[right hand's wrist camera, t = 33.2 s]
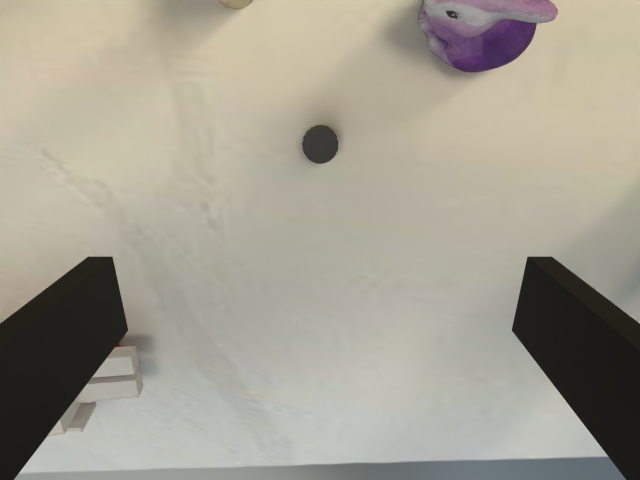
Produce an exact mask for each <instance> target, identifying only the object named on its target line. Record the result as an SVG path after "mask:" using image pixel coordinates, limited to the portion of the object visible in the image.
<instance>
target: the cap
mask: <svg viewBox="0 0 640 480" xmlns="http://www.w3.org/2000/svg"><path fill="white" fill-rule="evenodd" d="M303 139H304V141H303V144H302V145H303V151H304V153H305V155H306V156H307V158H308V159H309V160H311V161H313V162H315V163H326V162H328V161H330V160H331V159H332V158H333V157H334V156H335V155H336V152H337V149H338V140H337V137H336V135H335V133H334V132H333V130H331V129H330V128H329V127H326V126H323V125H319V126H317V125H316V126H315V127H311V129H309V130H308V131H307V133H306V135H305V136H304V138H303Z"/></svg>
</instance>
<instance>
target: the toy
mask: <svg viewBox="0 0 640 480" xmlns="http://www.w3.org/2000/svg"><path fill="white" fill-rule="evenodd" d="M138 365H139V360H138V354H137V349H136V346H125V347H119V344H117V345H116V347H115V348H114V349H113V351H112V352H111V353H110V355H109V356H108V357H107V358H106V360H105V361H104V362H103V364H102V365H101V366H100V368H99V369H98V370H97V372H96V373H95V374H94V375H93V377H92V378H91V379H90V381H89V382H88V383H87V385H86V386H85V387H84V389H83V390H82V391H81V392H80V394H79V395H78V396H77V398H76V399H75V400H74V402H73V403H72V404H71V405H70V407H69V408H68V409H67V411H66V412H65V413H64V415H63V416H62V417H61V419H60V420H59V421H58V422H57V424H56V425H55V426H54V428H53V429H52V430H51V432H50V433H49V434H48V436H49V435H59V434H64V433H65V432H82V431H83V429H84V427H85V425H86V424H87V422H88V420H89V418H90V416H91V415H92V413H93V411H94V409H95V407H96V403H82V402H90V401H102V400H113V399H125V398H136V397H139V396H140V393H141V390H142V388H143V381H142V375H141V370H140V369H137V367H138Z"/></svg>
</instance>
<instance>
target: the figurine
mask: <svg viewBox="0 0 640 480" xmlns="http://www.w3.org/2000/svg"><path fill="white" fill-rule="evenodd" d="M557 14H558V10H557V8H556V7H555V5H554V4H553V3H551V1H549V0H423V6H422V9H421V10H420V12H419V19H418V22H419V25H420V28H421V29H422V30H423V31H424V32H425V33H426V35H427V44H428V46H429V48H430V50H431V51H432V52H433V53H434V54H435V55H437V56H438V57H439V58H441V59H442V60H443V61H444V62H446V63H448V64H449V65H450V66H452V67H454V68H456V69H459V70H461V71H465V72H481V71H486V70H490V69H494V68H498V67H501V66H503V65H505V64H508V63H510V62H512V61H513V60H515V59H516V58H517V57H518V56H519V55H520V54H521V53H522V52H523V51H524V50H525V49H526V48H527V47H528V45H529V44H530V42H531V41H532V39H533V36H534V33H535V29H536V24H537V23H545V22H549V21H552V20H554V19H555V18H556V16H557Z"/></svg>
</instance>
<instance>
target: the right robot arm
mask: <svg viewBox="0 0 640 480" xmlns="http://www.w3.org/2000/svg"><path fill="white" fill-rule="evenodd" d="M127 331H128V327H127V323H126V318H125V313H124V309H123V304H122V299H121V295H120V290H119V285H118V281H117V276H116V271H115V267H114V262H113V257H87V258H86V259H85V260H83V261H82V262H81V263H79V264H78V265H77V266H75V267H74V268H73V269H71V270H70V271H69V272H68V273H66V274H65V275H64V276H62V277H61V278H60V279H58V280H57V281H56V282H54V283H53V284H52V285H50V286H49V287H48V288H47V289H45V290H44V291H43V292H41V293H40V294H39V295H37V296H36V297H35V298H33V299H32V300H31V301H30V302H28V303H27V304H26V305H24V306H23V307H22V308H20V309H19V310H18V311H16V312H15V313H14V314H12V315H11V316H10V317H9V318H7V319H6V320H5V321H3V322H2V323H1V324H0V480H14V479H15V477H16V476H17V475H18V473H19V472H20V471H21V469H22V468H23V467H24V466H25V464H26V463H27V462H28V460H29V459H30V458H31V456H32V455H33V454H34V452H35V451H36V450H37V449H38V447H39V446H40V445H41V443H42V442H43V441H44V439H45V438H46V437H47V436H48V434H49V433H50V432H51V430H52V429H53V428H54V426H55V425H56V424H57V422H58V421H59V420H60V419H61V417H62V416H63V415H64V413H65V412H66V411H67V409H68V408H69V407H70V405H71V404H72V403H73V402H74V400H75V399H76V398H77V396H78V395H79V394H80V392H81V391H82V390H83V389H84V387H85V386H86V385H87V383H88V382H89V381H90V379H91V378H92V377H93V375H94V374H95V373H96V372H97V370H98V369H99V368H100V366H101V365H102V364H103V362H104V361H105V360H106V358H107V357H108V356H109V355H110V353H111V352H112V351H113V349H114V348H115V347H116V345H117V344H118V343H119V342H120V340H121V339H122V338H123V336H124V335H125V334H126V332H127ZM512 331H513V332H514V334H515V335H516V336H517V338H518V339H519V340H520V342H521V343H522V344H523V345H524V347H525V348H526V349H527V351H528V352H529V353H530V355H531V356H532V357H533V358H534V360H535V361H536V362H537V364H538V365H539V366H540V368H541V369H542V370H543V372H544V373H545V374H546V375H547V377H548V378H549V379H550V381H551V382H552V383H553V385H554V386H555V387H556V389H557V390H558V391H559V392H560V394H561V395H562V396H563V398H564V399H565V400H566V402H567V403H568V404H569V405H570V407H571V408H572V409H573V411H574V412H575V413H576V415H577V416H578V417H579V419H580V420H581V421H582V422H583V424H584V425H585V426H586V428H587V429H588V430H589V432H590V433H591V434H592V436H593V437H594V438H595V439H596V441H597V442H598V443H599V445H600V446H601V447H602V449H603V450H604V451H605V452H606V454H607V455H608V456H609V458H610V459H611V460H612V462H613V463H614V464H615V465H616V467H617V468H618V469H619V471H620V472H621V473H622V475H623V476H624V477H625V479H626V480H640V324H639V323H638V322H637V321H635V320H634V319H633V318H631V317H630V316H629V315H627V314H626V313H625V312H624V311H622V310H621V309H620V308H618V307H617V306H616V305H614V304H613V303H612V302H610V301H609V300H608V299H607V298H605V297H604V296H603V295H601V294H600V293H599V292H597V291H596V290H595V289H593V288H592V287H591V286H590V285H588V284H587V283H586V282H584V281H583V280H582V279H580V278H579V277H578V276H576V275H575V274H574V273H572V272H571V271H570V270H569V269H567V268H566V267H565V266H563V265H562V264H561V263H559V262H558V261H557V260H555V259H554V258H553V257H527V262H526V267H525V271H524V276H523V281H522V285H521V290H520V295H519V299H518V304H517V309H516V313H515V318H514V323H513V327H512Z"/></svg>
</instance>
